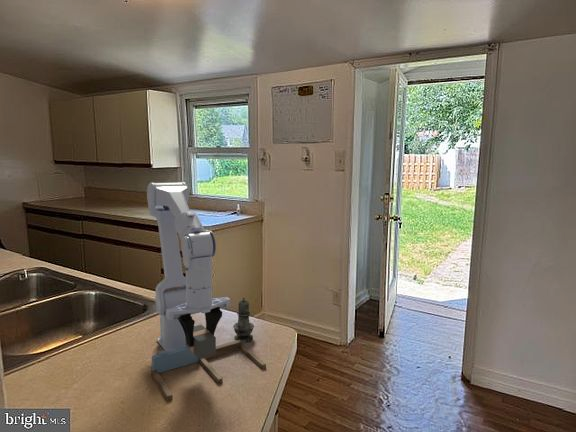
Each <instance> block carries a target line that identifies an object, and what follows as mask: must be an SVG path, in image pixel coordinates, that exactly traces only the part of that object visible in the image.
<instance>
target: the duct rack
mask: <svg viewBox="0 0 576 432" xmlns="http://www.w3.org/2000/svg"><path fill="white" fill-rule="evenodd" d="M242 343H243V342H241V341H240V340H233V341H231V342H227V343H222V344H220V345H216V354H214V355H211V356H207V357H204V358H201V359H199V358H198V357H197V356H196V355H195V354H193V352H192V351H191V350H190V349H189V348H188V347H187V346H186V344H185V346H186V347H184V348H180V349H176V350H172V351H169V352H167V351H166V350H164V349H163V350H159V351H158V353H157V354H153V355H151V369H152V370H151V376H152V378H153V379H154V381H155V383H156V384H157V386H158V387H159V389H160V390H161V392H162V394H163V396H164V397H165V399H166V400H167V402H169V401H171V400H173V393H172V392H171V391H170V389H169V388H168V386H167V384H166V383H165V381H164V380H163V378H162V376H161V375H160V374H159V373H163V372H164V373H165V372H167V371H170V370H174V369H177V368H181V367H185V366H188V365H191V364H194V363H200V365H202V367H203V368H204V369H205V370H206V372H208V374H210V376H211V377H212V378H213V379H214V380H215V381H216V382H217V383H218V384H219V385H220V384H222V383H223V381H224V379H223V377H222V375H220V374H219V373H218V372H217V370H216V369H214V367H213V366H212V364H210V363H209V362H208V359H211V358H212V359H213V358H215V357H218V356H222V355H225V354H229V353H232V352H236V351H239V350H240V351H241V352H242V353H243V354H245V356H247V357H248V358H249V359H250V360H251V361H253V363H255V364H256V365H257V366H259V367H260V368H261V369H266V368H267V364H266V363H265V362H264V361H263V360H262V359H261V358H260V357H258V356H257V355H256V354H255V353H254V352H252V351H251V350H250V349H249V348H248V347H247V346H245V345H244V344H242Z"/></svg>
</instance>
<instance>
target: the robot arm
mask: <svg viewBox="0 0 576 432" xmlns="http://www.w3.org/2000/svg"><path fill="white" fill-rule="evenodd" d="M189 196H190V191H189V187H188V184H187V183H186V182H184V181H181V182H150V183H148V184H147V187H146V199H147V206H148V212H149V215H150V216H151V217H153V218H156V223H157V226H158V232H159V234H158V235H159V241H160V249H161V251H160V252H161V258H162V259H161V260H162V265H163V273H164V278H163V279H162V280H161V281H160V282H159V283H158V284H157V285H156V287H155V309H156V312H157V314H158V315H159V316H160V317H159V330H160V331H159V335H160V337H157V338H156V341H157V342H158V343H159V345H160V346H161V347H162V349H163V350H166V351H167V352H169V351H172V350H176V349H180V348H184V347H186V346H185V344H186V341H185V336H186V340H187V344H188V345H189V346H190V347H193V345H194V339H193V330H194V326H195V323H196V321H195V320H194V319H193V316H192V315H195V314H199V313H201V314H204V318H205V328H206V329H207V330H209V331H210V333H212V334H213V335H214V336H215V332H216V329H217V326H218V324H219V322H220V320H221V318H222V317H223V311H222V310H221V309H222V308H230V307H231V299H230V298H229V297H228V296H224V297H216V298H215V297H213V260H212V259H213V257H215V255H216V254H217V253H216V252H217V242H216V241H217V240H216V238H215V235H214V232H213V231H212V230H209V229H205V227H204V226H203V223H202V222H201V220H200V218H199V217H198V215H197V214H196V213H195V212H193V211H191V210H190V207H189V204H188V202H189V198H190V197H189ZM178 236H179V237H178ZM179 239H180V240H181V244H180V243H179ZM180 248H181V249H180ZM181 253H182V258H181ZM182 260H183V265H182ZM183 266H185V276H184V272H183ZM179 287H180V288H179Z"/></svg>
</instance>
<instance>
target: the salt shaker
mask: <svg viewBox="0 0 576 432" xmlns="http://www.w3.org/2000/svg"><path fill="white" fill-rule="evenodd" d="M249 307H250V303H249V301H248V300H246V298H245V297H242V300H239V302H238V312H236V313H237V315H238V316H237V317H238V319H237V322H236V323H234V324H233V326H232V327H233V330H234V332H235V334H236V335H235V336H234V338H233V339H234V341H236V340H240V341H241V342H242V343H249V342H251V341H253V339H254V336H253V334H252V333H253V331H254V328H255V325H254V324H253V322H250V314H251V312H250V309H249Z"/></svg>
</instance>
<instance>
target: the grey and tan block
mask: <svg viewBox="0 0 576 432" xmlns="http://www.w3.org/2000/svg"><path fill="white" fill-rule="evenodd" d="M216 337H217V336H215V334H214V335H213V334H212V333H210V331H209V330H207V329H206V326H204V325H203V324H198V325H194V330H193V339H194V345H193V347H190V346H189V345H188V344H187V340H186V336H185V341H186V346H187V347H188V348H189V349H190V350H191V351H192V352H193V354H195V355H196V356H197V357H198V358H199V359H201V358H204V357H207V356H211V355H214V354H216V346H217V345H216V344H217V339H216Z"/></svg>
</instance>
